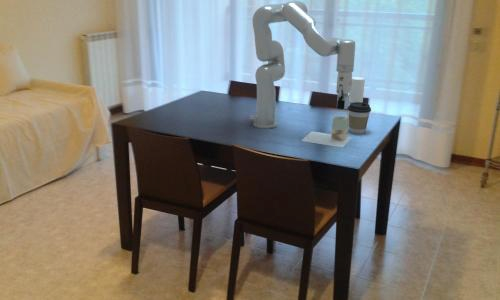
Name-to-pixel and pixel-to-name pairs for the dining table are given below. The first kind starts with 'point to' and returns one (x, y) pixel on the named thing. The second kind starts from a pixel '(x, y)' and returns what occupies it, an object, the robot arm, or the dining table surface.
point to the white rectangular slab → (324, 139)
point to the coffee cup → (358, 116)
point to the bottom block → (339, 134)
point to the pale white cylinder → (345, 101)
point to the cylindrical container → (356, 91)
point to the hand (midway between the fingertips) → (342, 106)
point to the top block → (340, 123)
